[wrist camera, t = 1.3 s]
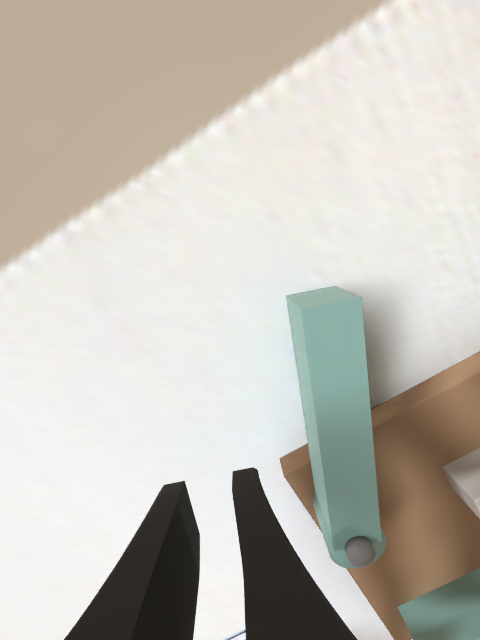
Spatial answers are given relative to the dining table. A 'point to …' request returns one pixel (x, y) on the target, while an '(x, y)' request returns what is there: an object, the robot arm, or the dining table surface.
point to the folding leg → (338, 421)
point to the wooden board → (422, 507)
